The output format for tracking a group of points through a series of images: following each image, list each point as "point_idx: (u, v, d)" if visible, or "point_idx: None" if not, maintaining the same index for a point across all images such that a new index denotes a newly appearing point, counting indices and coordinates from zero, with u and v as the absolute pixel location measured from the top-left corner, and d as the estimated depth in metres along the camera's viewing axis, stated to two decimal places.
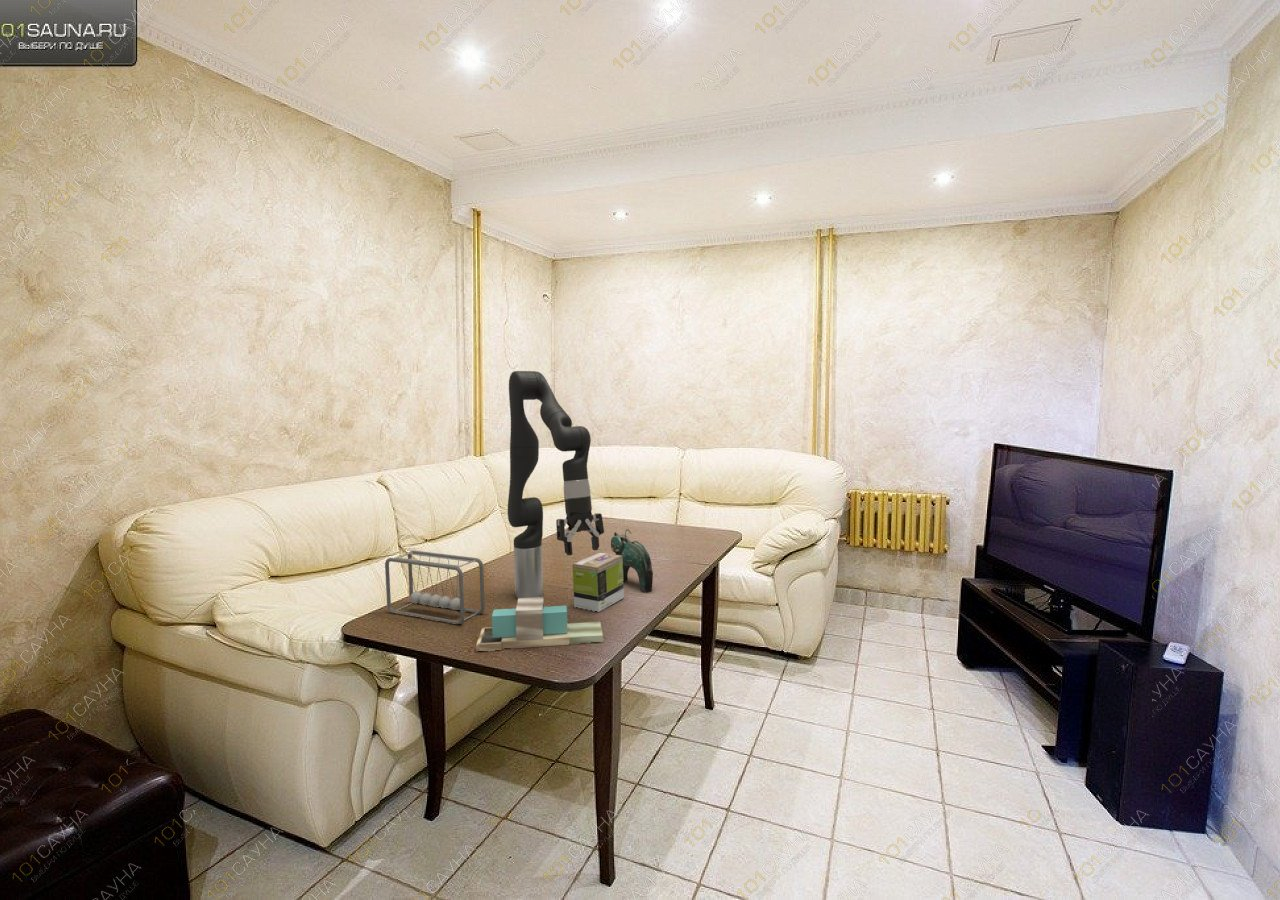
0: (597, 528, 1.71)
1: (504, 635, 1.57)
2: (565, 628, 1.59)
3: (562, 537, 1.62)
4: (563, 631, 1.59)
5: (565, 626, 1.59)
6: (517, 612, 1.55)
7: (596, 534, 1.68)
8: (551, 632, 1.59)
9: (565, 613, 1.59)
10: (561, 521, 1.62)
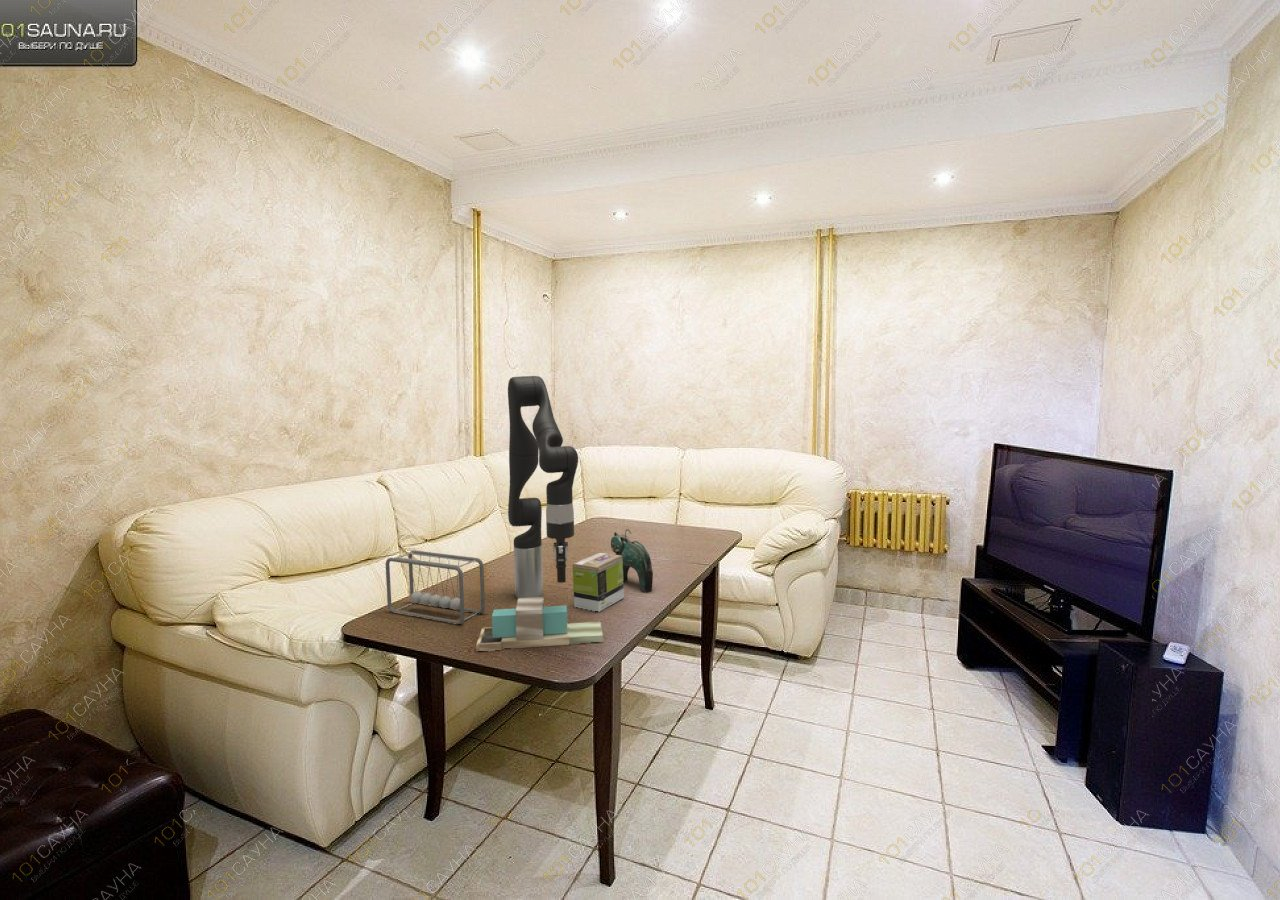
0: None
1: (504, 635, 1.57)
2: (565, 628, 1.59)
3: (565, 564, 1.54)
4: (563, 631, 1.59)
5: (565, 626, 1.59)
6: (517, 612, 1.55)
7: None
8: (551, 632, 1.59)
9: (565, 613, 1.59)
10: (565, 548, 1.54)
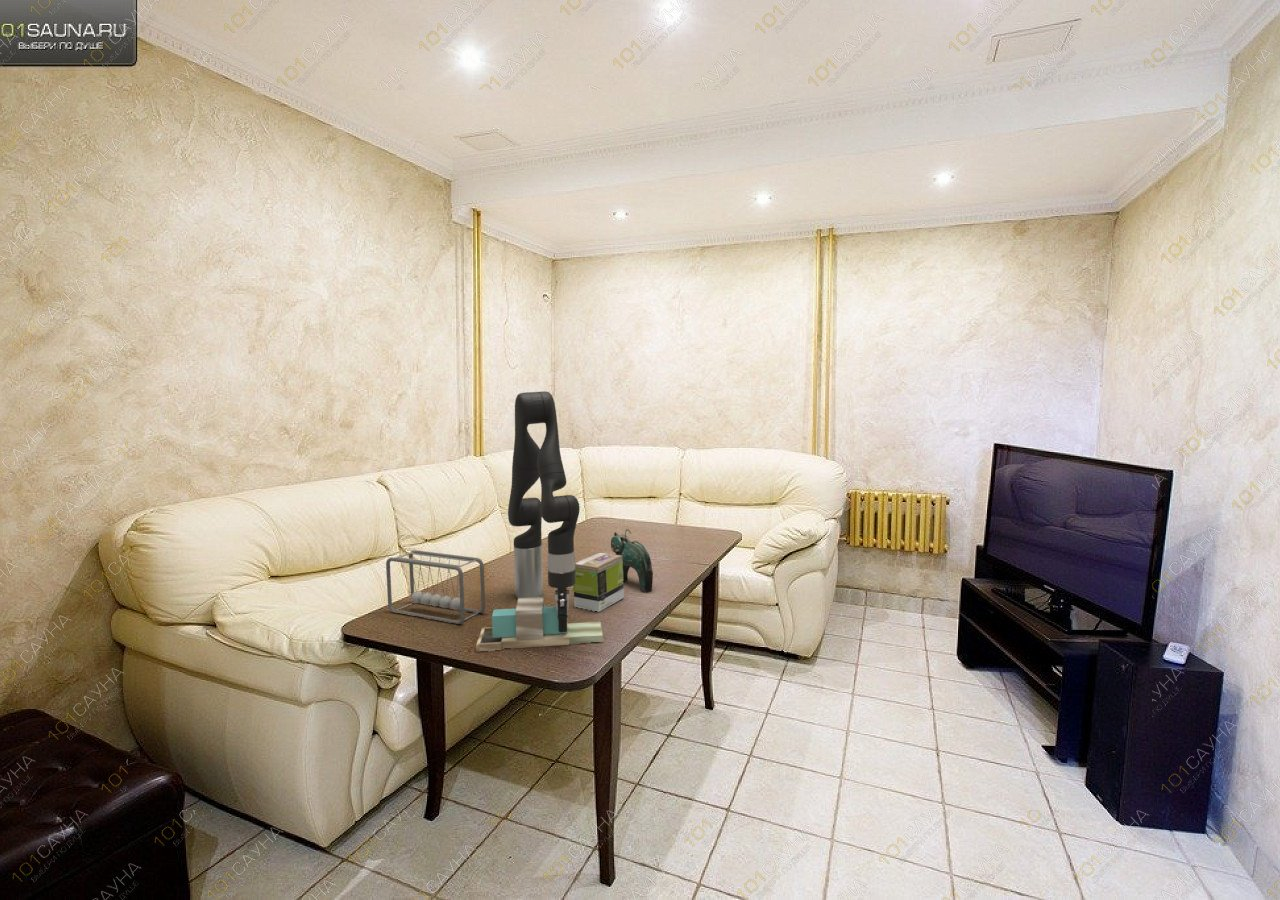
0: None
1: (504, 635, 1.57)
2: None
3: (567, 615, 1.56)
4: None
5: None
6: (517, 612, 1.55)
7: None
8: (551, 632, 1.59)
9: None
10: (566, 601, 1.55)
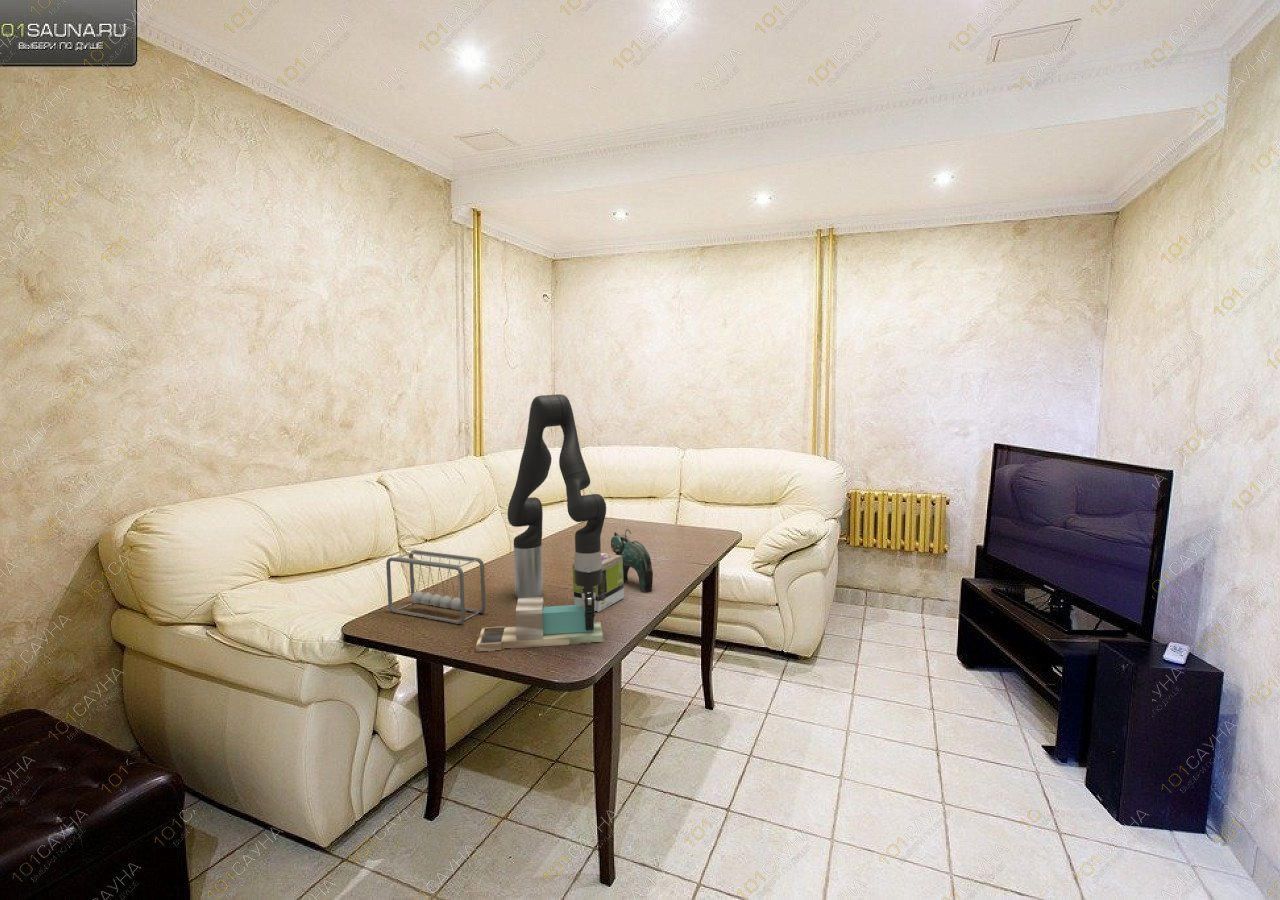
0: None
1: None
2: None
3: None
4: None
5: None
6: (517, 612, 1.55)
7: None
8: (578, 630, 1.60)
9: None
10: (594, 600, 1.56)
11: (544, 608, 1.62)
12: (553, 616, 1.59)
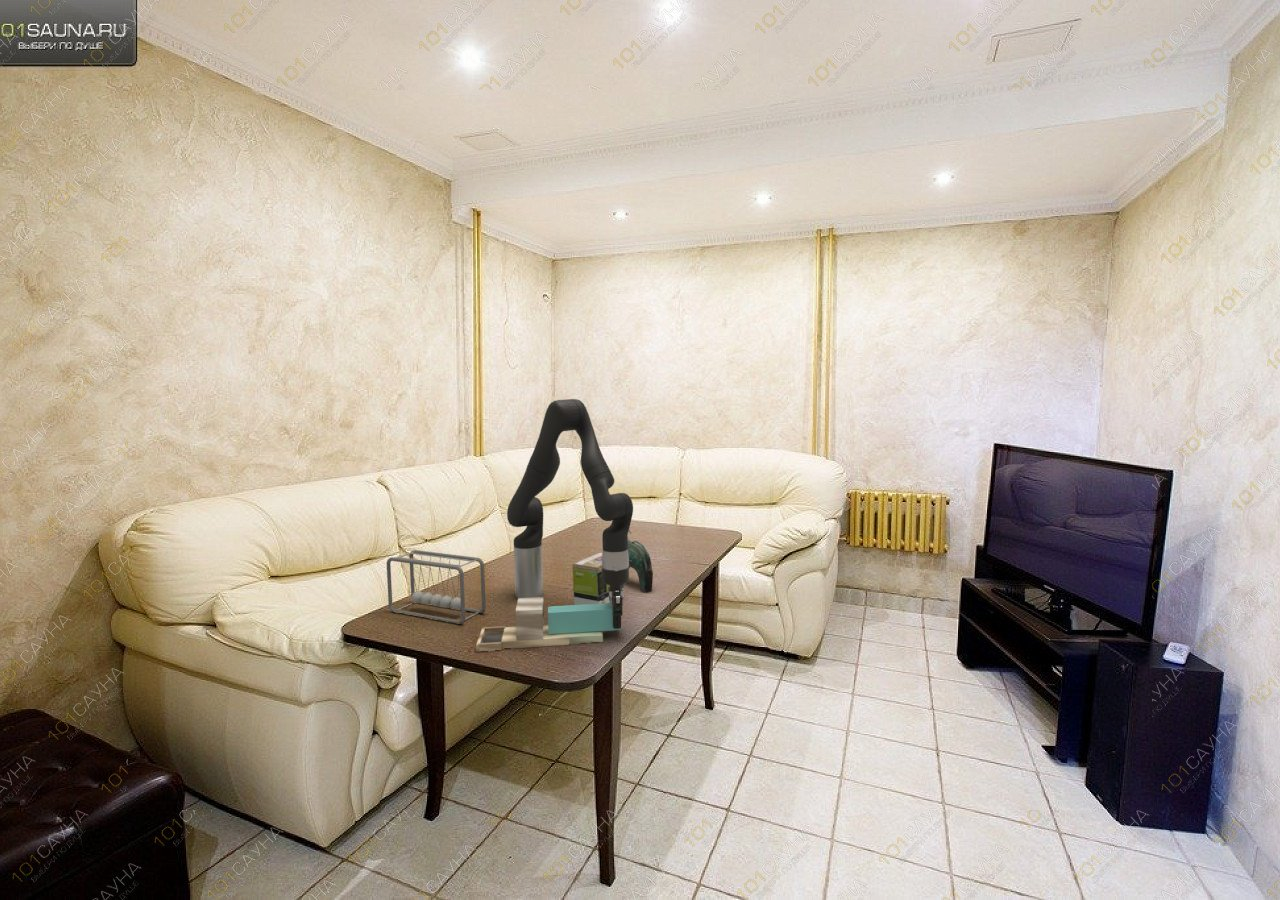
0: None
1: (559, 631, 1.59)
2: None
3: (622, 612, 1.58)
4: None
5: None
6: (517, 612, 1.55)
7: None
8: (605, 629, 1.61)
9: (619, 610, 1.61)
10: None
11: (571, 606, 1.63)
12: (581, 614, 1.60)
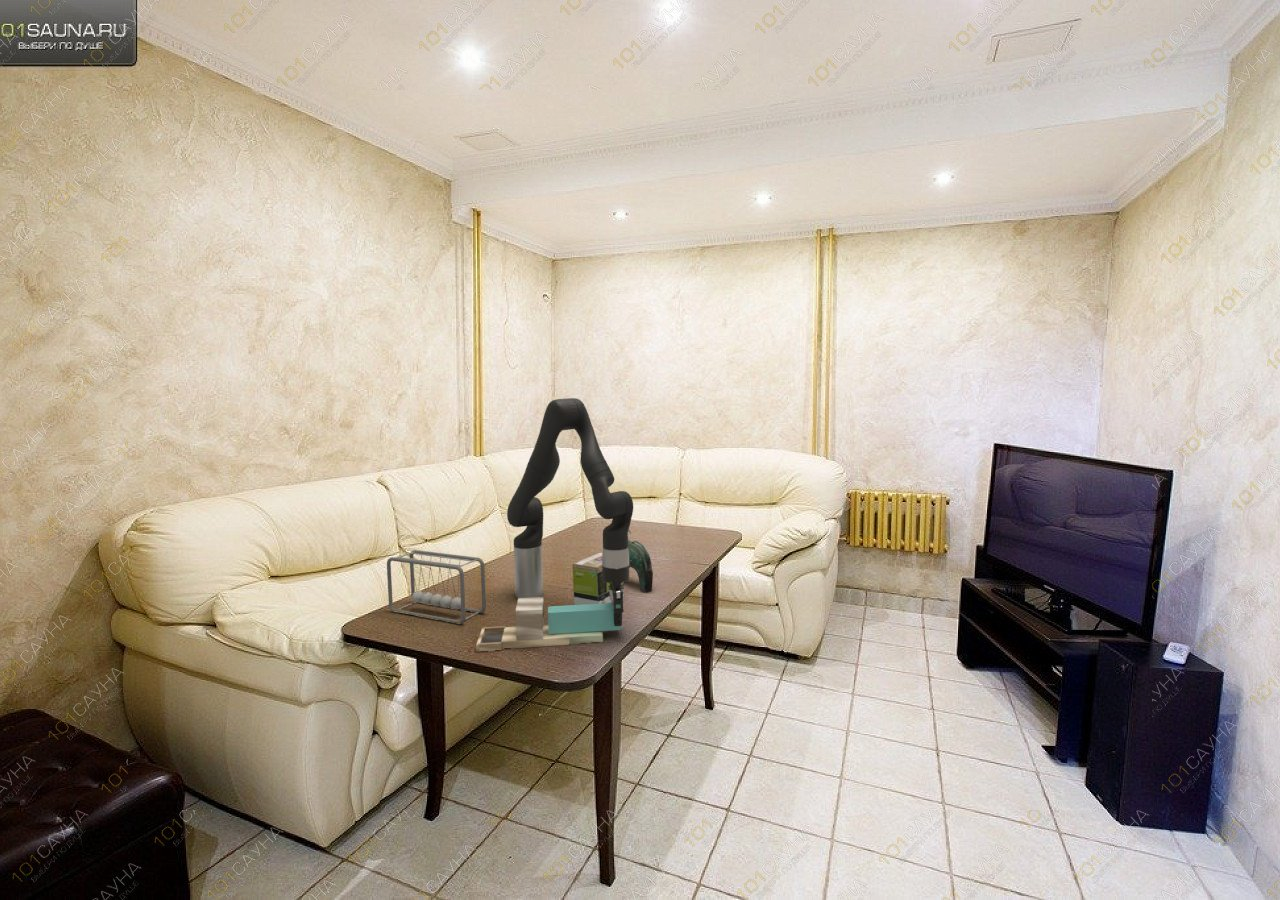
0: None
1: (560, 631, 1.59)
2: None
3: (623, 609, 1.57)
4: (617, 628, 1.61)
5: None
6: (517, 612, 1.55)
7: None
8: (605, 629, 1.61)
9: None
10: (622, 593, 1.57)
11: (572, 606, 1.63)
12: (581, 614, 1.60)
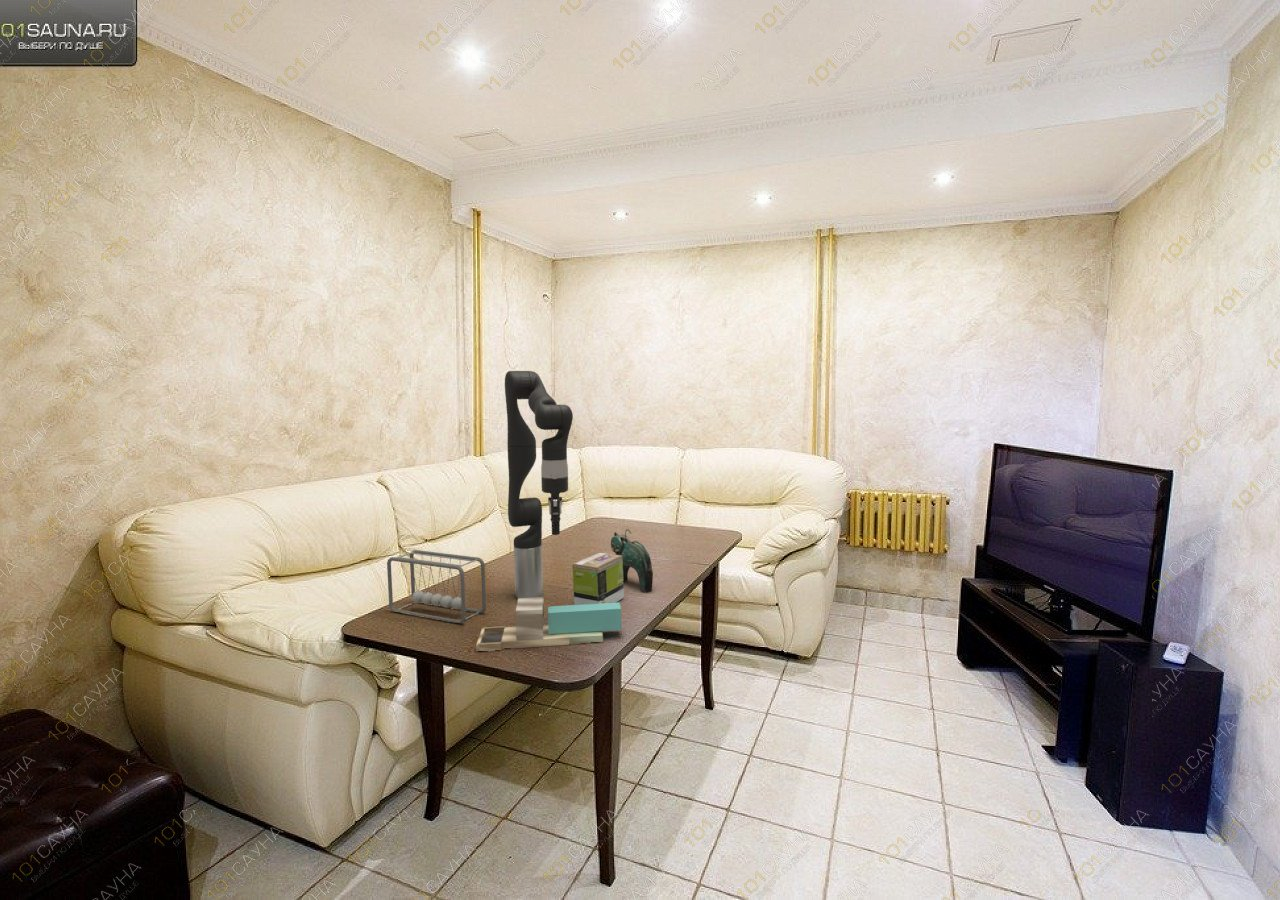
0: None
1: (560, 631, 1.59)
2: (619, 625, 1.61)
3: None
4: (617, 628, 1.61)
5: (619, 623, 1.61)
6: (517, 612, 1.55)
7: None
8: (605, 629, 1.61)
9: (619, 610, 1.61)
10: (559, 501, 1.60)
11: (572, 606, 1.63)
12: (581, 614, 1.60)
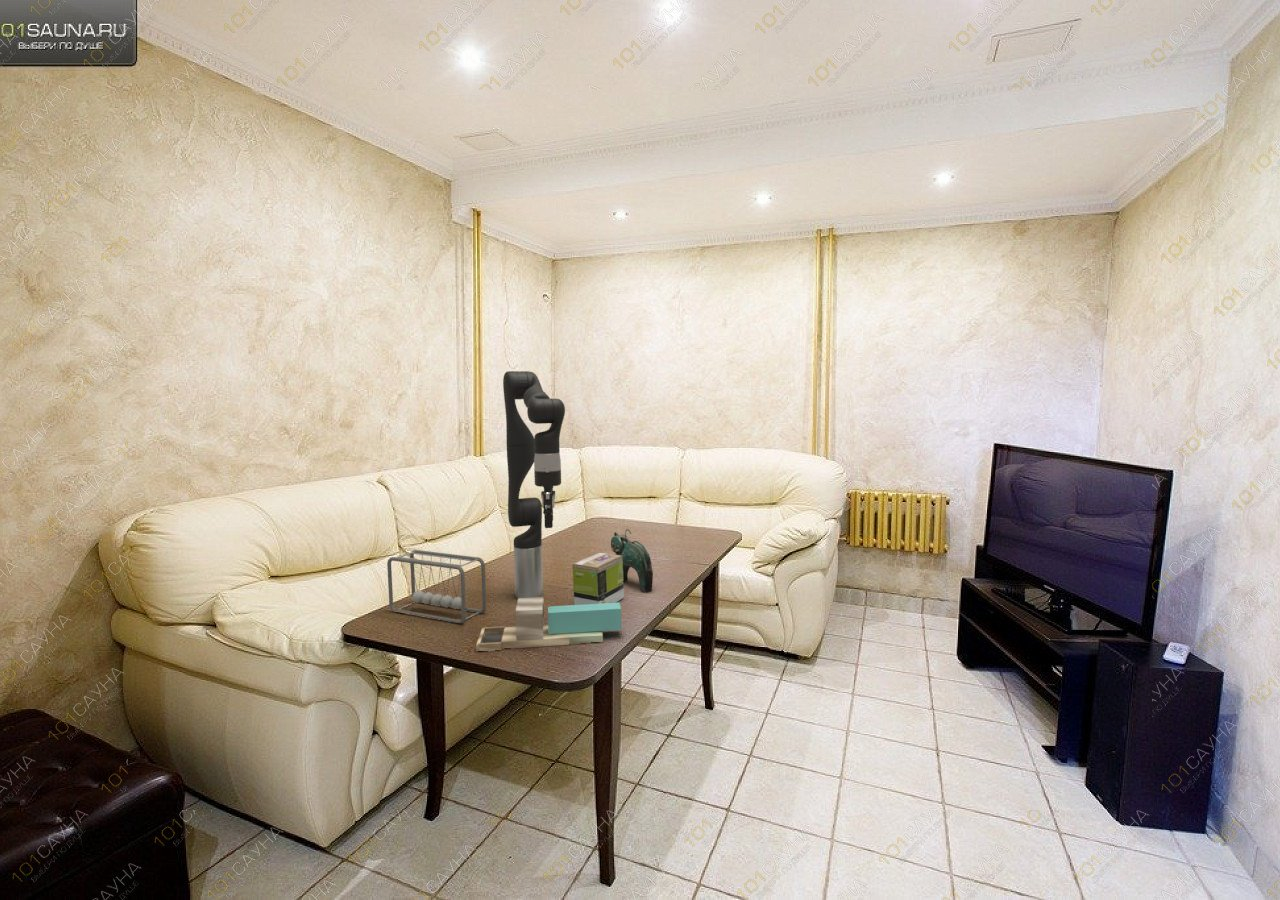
0: None
1: (560, 631, 1.59)
2: (619, 625, 1.61)
3: (552, 510, 1.61)
4: (617, 628, 1.61)
5: (619, 623, 1.61)
6: (517, 612, 1.55)
7: None
8: (605, 629, 1.61)
9: (619, 610, 1.61)
10: (552, 494, 1.61)
11: (572, 606, 1.63)
12: (581, 614, 1.60)
